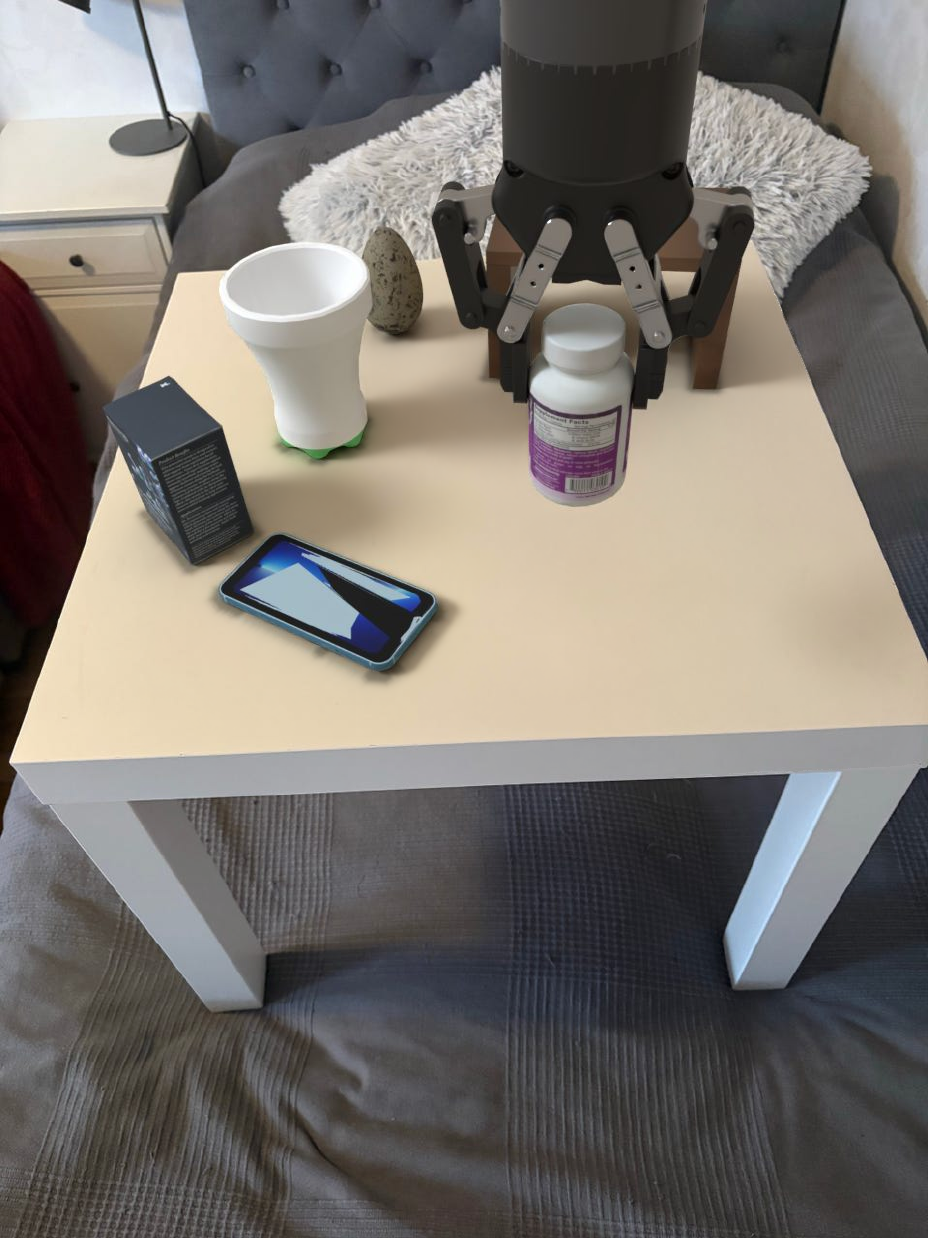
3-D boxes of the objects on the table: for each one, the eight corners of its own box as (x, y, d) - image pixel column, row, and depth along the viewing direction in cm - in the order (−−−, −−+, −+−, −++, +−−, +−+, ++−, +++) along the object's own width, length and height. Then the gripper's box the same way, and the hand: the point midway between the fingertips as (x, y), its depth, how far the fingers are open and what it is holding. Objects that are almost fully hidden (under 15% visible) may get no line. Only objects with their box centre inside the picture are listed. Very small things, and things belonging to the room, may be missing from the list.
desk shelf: (712, 313, 88) (735, 187, 78) (716, 389, 80) (742, 259, 71) (504, 305, 90) (503, 182, 81) (488, 377, 82) (485, 250, 73)
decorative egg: (408, 352, 86) (397, 250, 78) (353, 339, 87) (337, 238, 80) (436, 319, 89) (429, 218, 81) (383, 307, 91) (371, 207, 83)
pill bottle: (556, 436, 53) (560, 283, 46) (640, 464, 51) (659, 309, 44) (510, 492, 51) (507, 338, 43) (598, 523, 49) (610, 368, 41)
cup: (335, 492, 73) (304, 336, 63) (232, 447, 78) (186, 294, 67) (415, 416, 79) (399, 262, 68) (315, 379, 83) (285, 227, 73)
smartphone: (275, 528, 70) (442, 596, 64) (278, 537, 70) (443, 605, 65) (211, 591, 66) (383, 670, 60) (215, 600, 67) (385, 678, 61)
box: (145, 514, 73) (99, 404, 65) (209, 482, 75) (172, 372, 67) (191, 568, 69) (148, 459, 60) (257, 534, 71) (223, 423, 63)
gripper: (391, 56, 33) (430, 436, 45) (811, 54, 31) (727, 452, 43) (428, -12, 37) (453, 349, 50) (793, -18, 35) (722, 360, 48)
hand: (581, 395), depth 47 cm, fingers closed on pill bottle, 5 cm apart
